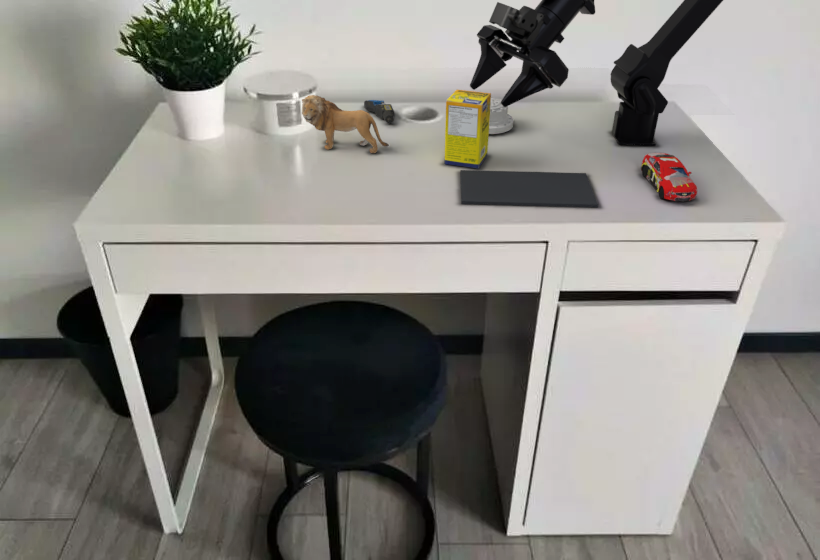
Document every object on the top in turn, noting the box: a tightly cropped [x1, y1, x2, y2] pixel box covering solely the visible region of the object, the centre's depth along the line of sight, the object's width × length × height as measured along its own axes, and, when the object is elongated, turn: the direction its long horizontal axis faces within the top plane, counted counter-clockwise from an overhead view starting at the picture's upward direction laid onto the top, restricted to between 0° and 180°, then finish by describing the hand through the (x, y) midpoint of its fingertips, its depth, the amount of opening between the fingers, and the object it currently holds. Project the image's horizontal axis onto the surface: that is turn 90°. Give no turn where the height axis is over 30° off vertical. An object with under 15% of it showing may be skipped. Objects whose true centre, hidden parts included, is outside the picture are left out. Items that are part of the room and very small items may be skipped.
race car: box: [640, 152, 698, 202], centre depth 109 cm, size 13×5×4 cm, turn 2°
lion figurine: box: [301, 94, 390, 154], centre depth 120 cm, size 15×5×9 cm, turn 86°
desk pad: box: [459, 169, 599, 208], centre depth 109 cm, size 20×11×1 cm, turn 87°
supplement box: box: [444, 89, 492, 170], centre depth 115 cm, size 6×6×11 cm
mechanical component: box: [489, 96, 514, 135], centre depth 130 cm, size 10×4×10 cm
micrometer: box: [363, 99, 395, 124], centre depth 135 cm, size 12×2×5 cm
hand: (486, 96), depth 114 cm, fingers open, 9 cm apart
